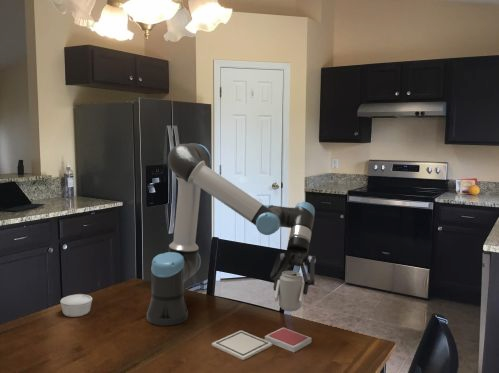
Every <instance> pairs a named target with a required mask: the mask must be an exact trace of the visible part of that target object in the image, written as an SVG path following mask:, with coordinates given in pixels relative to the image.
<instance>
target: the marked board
mask: <svg viewBox="0 0 499 373" xmlns="http://www.w3.org/2000/svg"><path fill="white" fill-rule="evenodd" d="M211 346H212V347H214V348H217V349H219V350H220V351H223V352H225V353H227V354H229V355H231V356H234V357H236V358H237V359H239V360H242V361H245V360H247V359H248V358H251V357H252V356H253V357H254V355H257V354H258V353H260V352H262V351H264V350H266V349H268V348H270V347H272V346H273V344H272V343H271V342H268V341H266V340H265V339H264V338H260V337H258V336H256V335H253V334H251V333H248V332H246V331H244V330H238V331H236V332H234V333H232V334H230V335H229V334H228V335H226V336H225V337H223V338H220V339H218V340H215V341H213V342H211Z"/></svg>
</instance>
